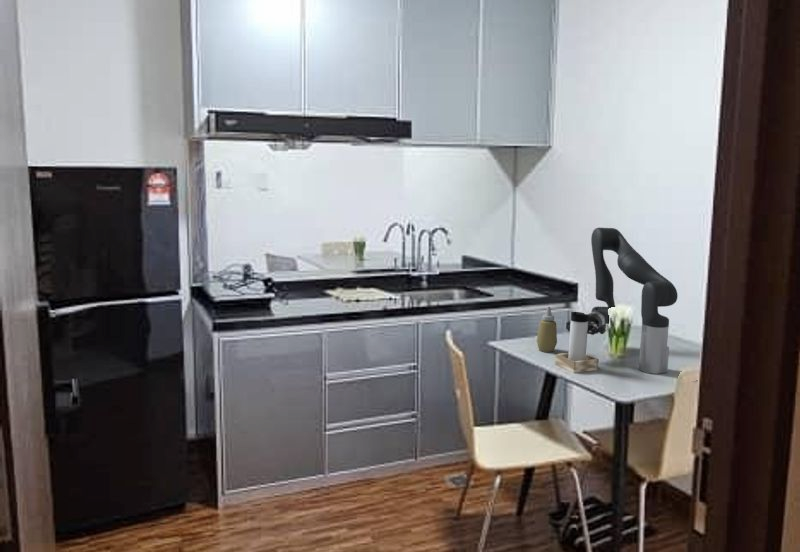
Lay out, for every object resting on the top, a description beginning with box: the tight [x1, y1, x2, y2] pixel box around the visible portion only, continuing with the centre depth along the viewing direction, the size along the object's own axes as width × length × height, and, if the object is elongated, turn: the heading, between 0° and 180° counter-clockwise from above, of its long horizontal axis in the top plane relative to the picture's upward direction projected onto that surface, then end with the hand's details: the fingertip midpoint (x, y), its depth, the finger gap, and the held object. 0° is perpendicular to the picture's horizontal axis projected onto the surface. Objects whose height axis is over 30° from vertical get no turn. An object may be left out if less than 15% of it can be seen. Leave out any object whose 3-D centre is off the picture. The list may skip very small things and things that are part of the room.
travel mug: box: [568, 311, 589, 361], centre depth 255 cm, size 6×7×20 cm
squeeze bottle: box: [536, 306, 558, 353], centre depth 278 cm, size 8×8×18 cm
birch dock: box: [554, 352, 599, 374], centre depth 256 cm, size 11×11×4 cm
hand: (580, 330), depth 257 cm, fingers open, 8 cm apart
